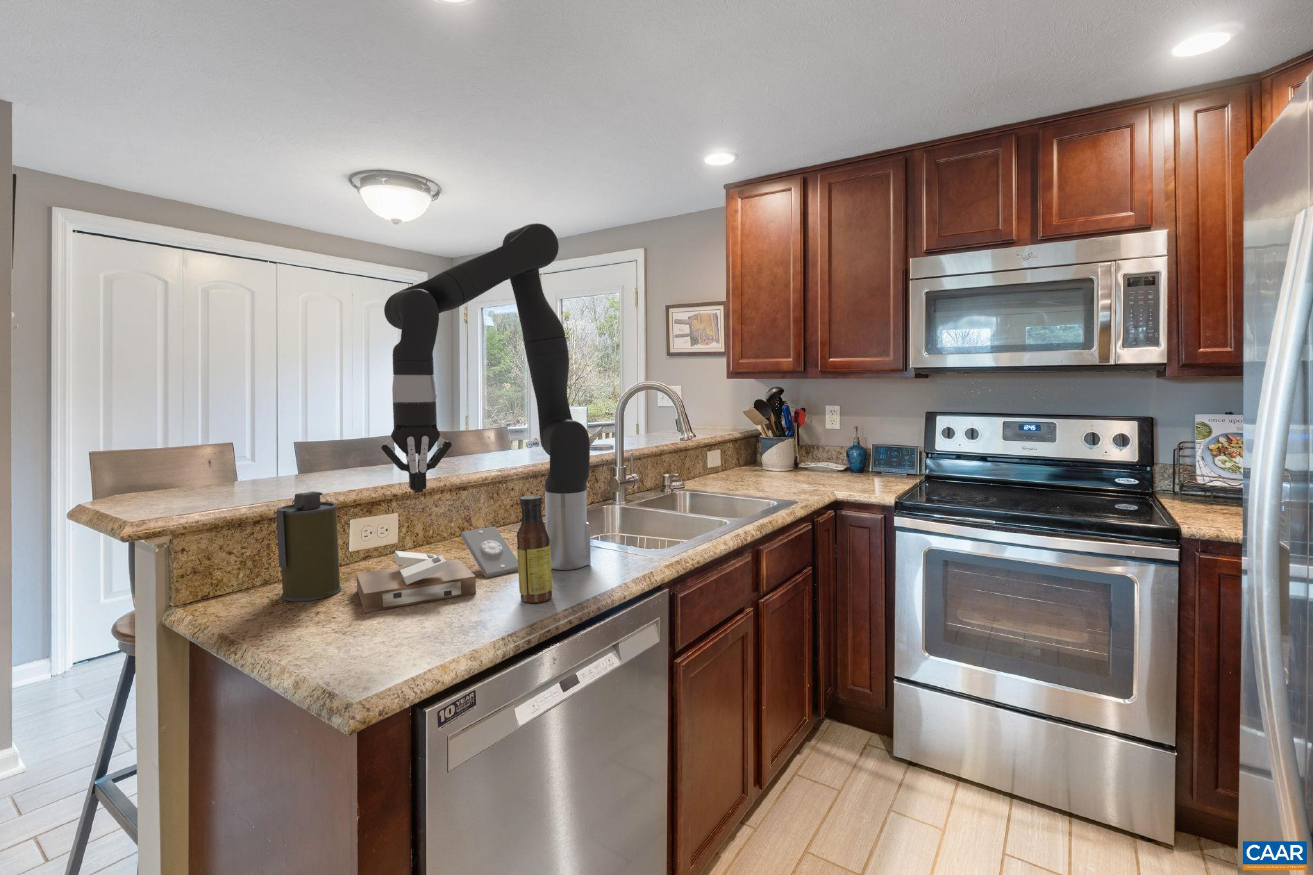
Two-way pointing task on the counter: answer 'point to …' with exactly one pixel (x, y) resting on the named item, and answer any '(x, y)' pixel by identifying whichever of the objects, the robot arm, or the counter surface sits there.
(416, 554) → the rocker
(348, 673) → the counter surface
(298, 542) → the canister
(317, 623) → the counter surface
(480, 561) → the light switch
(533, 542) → the sauce bottle
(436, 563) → the rocker
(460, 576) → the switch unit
